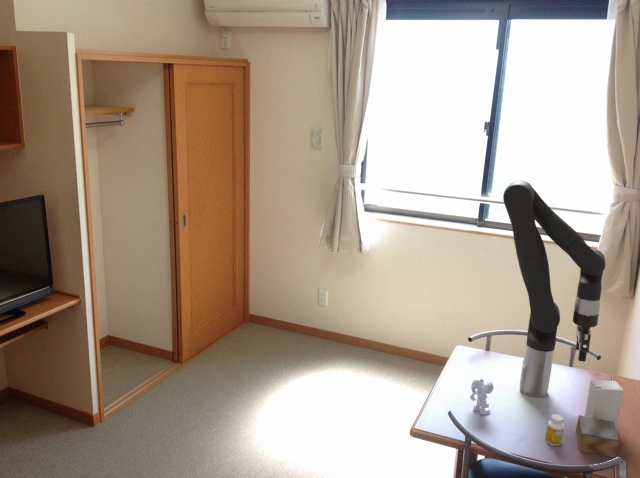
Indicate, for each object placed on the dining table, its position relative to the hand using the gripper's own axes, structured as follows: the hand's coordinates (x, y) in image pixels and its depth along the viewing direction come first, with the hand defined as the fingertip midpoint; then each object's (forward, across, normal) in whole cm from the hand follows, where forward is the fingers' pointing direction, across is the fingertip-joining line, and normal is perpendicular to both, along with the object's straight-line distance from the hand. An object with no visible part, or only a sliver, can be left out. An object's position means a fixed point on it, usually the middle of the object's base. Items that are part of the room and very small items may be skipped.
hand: (580, 355), depth 199 cm
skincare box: (+18, +14, +6) cm, 23 cm away
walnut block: (+17, +25, +4) cm, 31 cm away
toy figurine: (+16, +19, -30) cm, 39 cm away
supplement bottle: (+17, +28, -8) cm, 34 cm away
